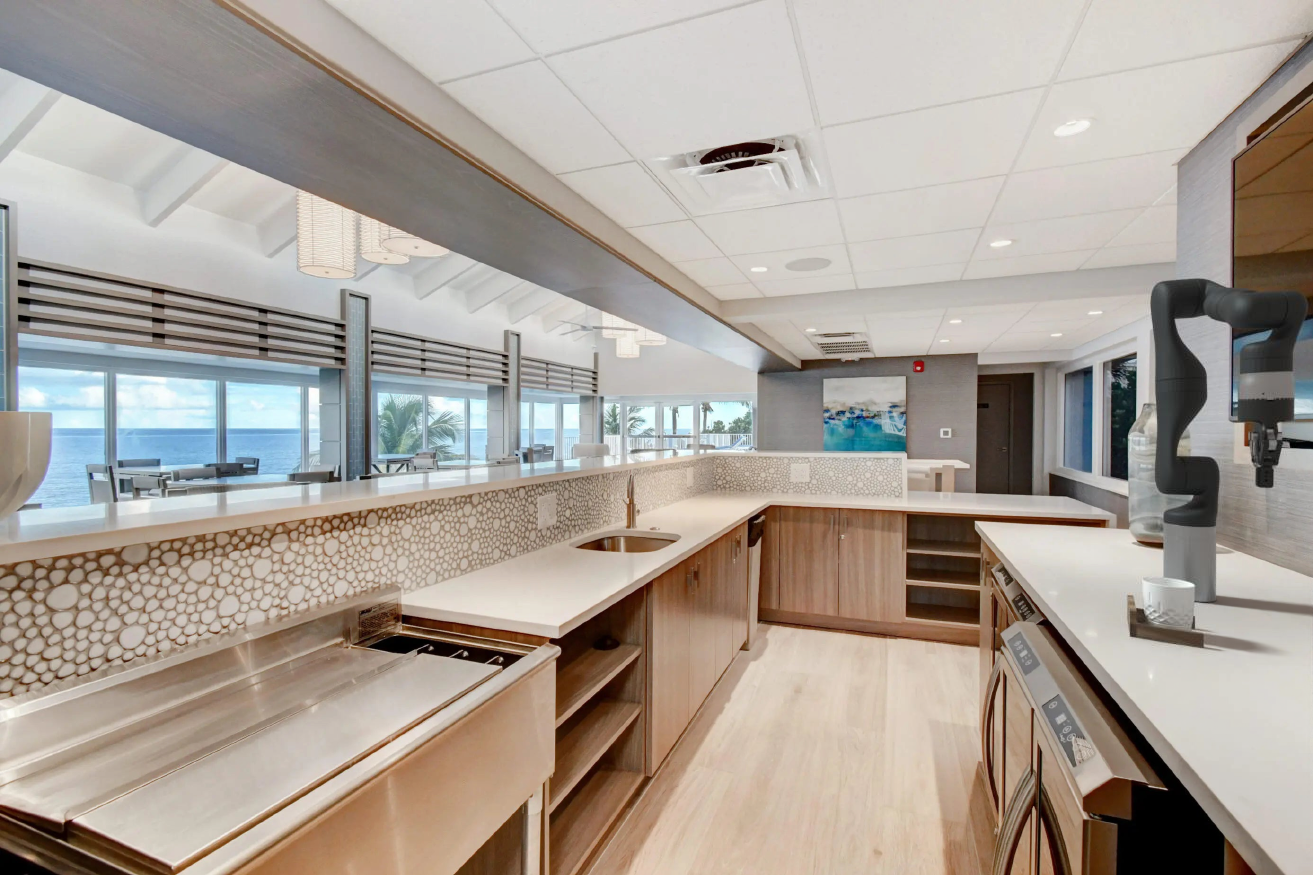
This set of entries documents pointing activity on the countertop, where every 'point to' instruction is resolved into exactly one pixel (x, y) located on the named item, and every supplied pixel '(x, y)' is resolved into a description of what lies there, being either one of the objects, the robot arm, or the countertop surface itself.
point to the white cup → (1168, 602)
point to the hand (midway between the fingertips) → (1264, 487)
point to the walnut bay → (1159, 629)
